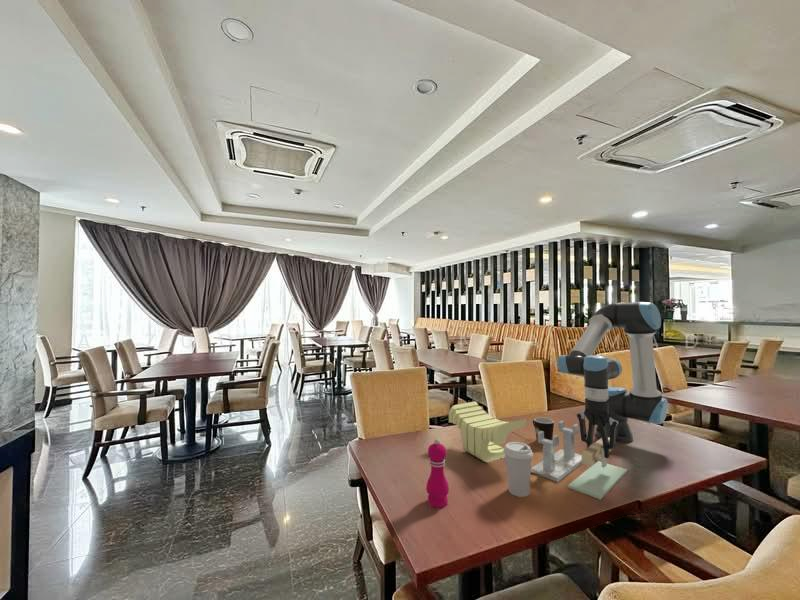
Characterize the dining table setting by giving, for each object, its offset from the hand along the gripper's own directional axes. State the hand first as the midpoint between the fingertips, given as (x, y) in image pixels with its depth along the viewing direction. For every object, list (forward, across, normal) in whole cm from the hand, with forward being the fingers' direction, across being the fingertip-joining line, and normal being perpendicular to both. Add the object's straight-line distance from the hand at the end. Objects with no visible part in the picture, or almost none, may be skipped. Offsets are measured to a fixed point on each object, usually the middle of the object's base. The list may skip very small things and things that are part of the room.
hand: (598, 464), depth 120 cm
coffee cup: (+6, -15, -29) cm, 33 cm away
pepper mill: (+6, -29, -54) cm, 61 cm away
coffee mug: (+5, -30, +20) cm, 37 cm away
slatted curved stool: (+6, -40, -12) cm, 42 cm away
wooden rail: (-3, 0, 0) cm, 3 cm away
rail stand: (+5, -14, 0) cm, 15 cm away
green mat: (+5, 0, 0) cm, 5 cm away
